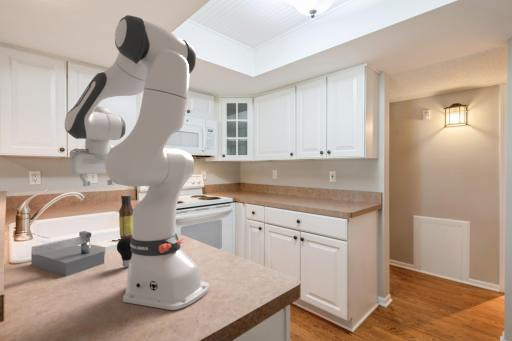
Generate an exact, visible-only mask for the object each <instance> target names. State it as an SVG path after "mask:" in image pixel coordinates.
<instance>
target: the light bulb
mask: <svg viewBox="0 0 512 341" xmlns="http://www.w3.org/2000/svg"><path fill="white" fill-rule="evenodd" d="M117 243H118V244H117V251H116V252H118V253H119V255H120V256H121V260H122V266H123V267H125V268H129V264H130V261H131V257H132V252H131V246H130V243H131V237H124V238H122V239H121V238H120V240H118V242H117Z"/></svg>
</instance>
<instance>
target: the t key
mask: <svg viewBox="0 0 512 341" xmlns="http://www.w3.org/2000/svg"><path fill="white" fill-rule="evenodd" d="M91 237H92V232H91V231H85V230H83V231H79V235H78V237H72V238H69V239H63V240H57V241H53V242H48V243H44V244H39V245H34V246H31V253H32V254H33V255H36V254H40V253H45V252H49V251H54V250H58V249H62V248H67V247H71V246H76V245H78V246H81V254H87V253H89V248H90V242H91Z"/></svg>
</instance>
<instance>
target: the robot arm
mask: <svg viewBox="0 0 512 341" xmlns="http://www.w3.org/2000/svg"><path fill="white" fill-rule="evenodd" d="M114 43H115V44H114V45H115V47H116V49H117V51H118V54H117V57H116V59H115V61H114V62H113V63H112V65H111V66H110V67H109V68H107V69H106V70H105V71H102V72H98V73H97V74H95V76H94V77H92V79H91V81H90V82H89V83H88V85H87V87H86V88H85V89H84V91H83V92H82V94H81V95H80V97H79V99H78V100H77V102H76V103H75V105H73V107H72V108H70V110H69V111H68V112H67V114H66V115H65V119H64V129H65V131H66V132H67V133H68V134H69V135H70V136H71V137H73V139H76V140H77V139H80V140H81V139H82V140H85V141H84V147H85V148H73V149H71V150H70V151H69V163H68V172H69V173H70V174H71V175H79V178H80V180H81V181H82V186H83V187H90V186H91V182H90V181H88V179H87V177H88V175H89V174H90V175H95V174H98V175H99V174H106V175H107V177H108V180H106V181H107V182H106V183H107V186H113V185H114V184H116V185H121V186H127V187H134V188H136V187H148V189H147V191H146V194H145V196H144V197H143V198H142V199H141V200H140V201H138V202H137V203H136V205H135V206H134V207H133V208H132V209H133V237H131V243H130V246H131V252H132V257H131V261H130V264H129V267H127V268H128V269H127V270H128V271H127V277H126V278H127V280H126V288H125V291H124V292H125V293H124V294H123V296H122V302H123V303H126V304H127V303H128V304H135V305H141V306H146V307H151V308H159V309H163V310H170V311H176V310H180V309H182V308H185V307H189V305H192V304H194V303H195V302H196V301H198V300H200V299H201V298H202V297H204V296H205V295H206V294H207V293H208V292H209V290H210V284H209V282H206V281H204V280H201V271H200V268H199V266H198V265H197V263H196V262H194V261H193V260H192V259H191V258H190V256H188V254H186V253H185V251H183V249H182V247H181V244H183V243H184V242H183V240H184V238H181V239H179V237H178V234H177V233H176V229H177V228H176V226H177V224H176V223H177V222H176V221H177V206H178V201H179V198H180V195H181V193H182V190H183V188H184V186H185V184H186V183H187V182H188V180H190V178H191V177H192V176H193V174H194V171H195V160H194V158H193V156H192V154H191V153H190V152H188V151H186V150H184V149H181V148H178V147H175V146H166V145H167V142H168V140H169V139H170V137H172V136H173V135H174V134H176V133H177V132H179V131H181V129H182V128H183V125H184V120H185V114H186V109H187V108H186V107H187V105H188V104H187V103H188V96H189V91H190V90H189V89H190V87H189V86H190V74H191V73H192V72H193V71H194V70H195V68H196V64H197V53H196V50H195V47H193V45H192V44H191V43H189V42H188V41H187V40H184V39H181V38H180V37H178V36H177V35H175V34H173V33H172V32H170V31H167V29H165V28H164V27H161V26H159V25H157V24H154V23H151V22H148V21H146V20H143V18H141V17H138V16H134V15H129V14H127V15H125V16H123V17H122V18H121V19H120V20H119V22H118V23H117V26H116V28H115V32H114ZM141 93H142V98H141V104H140V110H139V113H138V114H139V115H138V118H137V120H136V123H135V124H134V127H133V128H132V130H131V131H130V133H129V134H128V135H127V136H126V138H124V140H122V141H121V142H120V143H117V145H112V141H117V140H121V139H122V138H123V137H124V136H125V134H126V130H127V129H126V126H127V125H126V122H125V120H124V119H123V117H121V116H120V115H119V114H118V115H117V114H114V113H112V112H111V110H110V109H108V108H107V107H104V106H99V105H100V103H101V102H102V101H104V100H105V99H109V98H112V97H113V98H114V97H125V96H126V97H127V96H128V97H129V96H136V95H139V94H141Z"/></svg>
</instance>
